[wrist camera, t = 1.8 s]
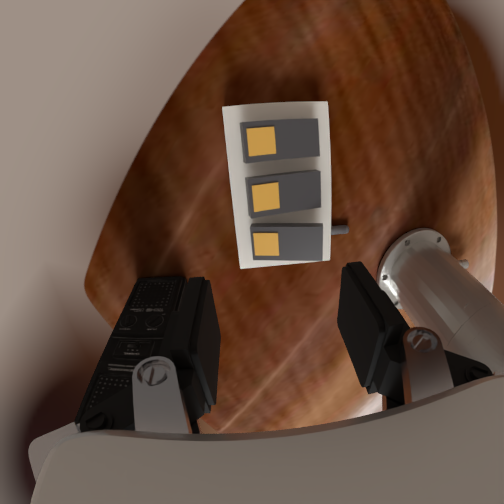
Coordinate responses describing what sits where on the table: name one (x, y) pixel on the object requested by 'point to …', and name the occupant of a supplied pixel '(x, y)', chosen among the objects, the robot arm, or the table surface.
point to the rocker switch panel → (242, 170)
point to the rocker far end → (279, 139)
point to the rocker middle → (283, 192)
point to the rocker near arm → (287, 241)
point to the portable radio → (134, 336)
